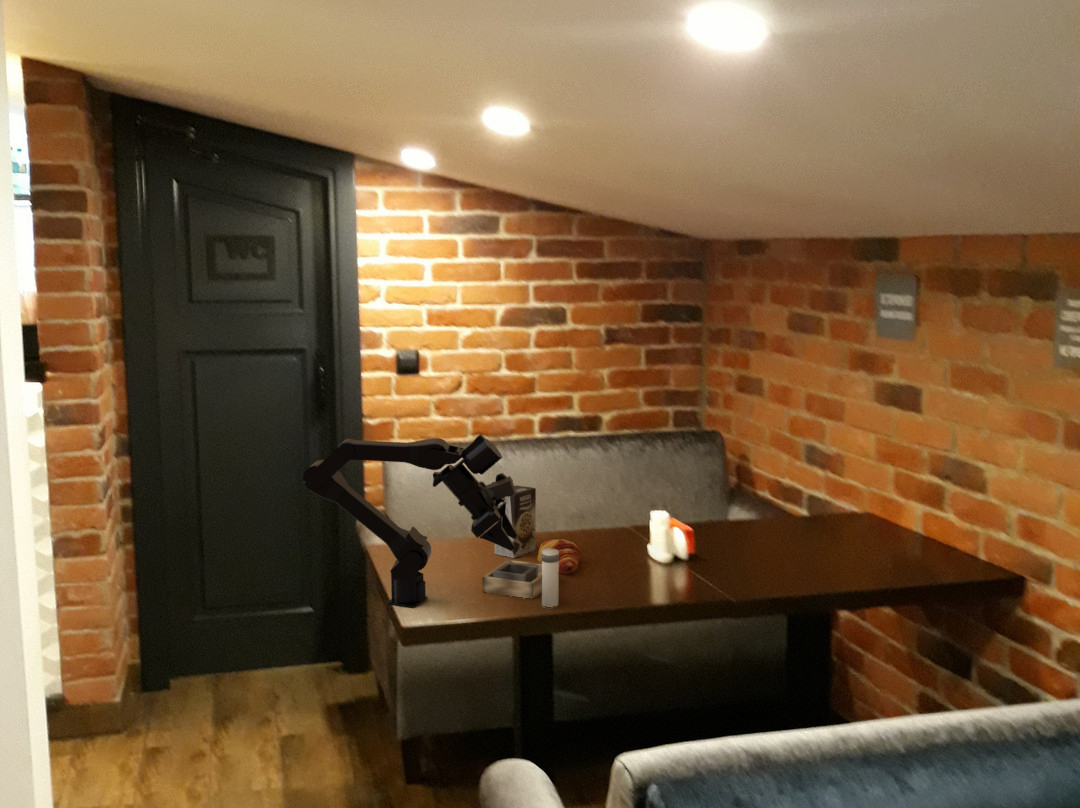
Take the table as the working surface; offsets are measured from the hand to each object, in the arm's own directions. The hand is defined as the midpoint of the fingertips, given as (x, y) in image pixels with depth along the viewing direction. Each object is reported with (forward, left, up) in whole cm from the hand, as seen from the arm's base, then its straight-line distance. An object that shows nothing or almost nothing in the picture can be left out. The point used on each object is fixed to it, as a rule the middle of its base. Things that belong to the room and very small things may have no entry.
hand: (514, 543), depth 227 cm
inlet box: (-3, +11, -13) cm, 17 cm away
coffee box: (-15, +35, -13) cm, 40 cm away
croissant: (-2, +30, -14) cm, 33 cm away
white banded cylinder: (+8, +2, -13) cm, 15 cm away
